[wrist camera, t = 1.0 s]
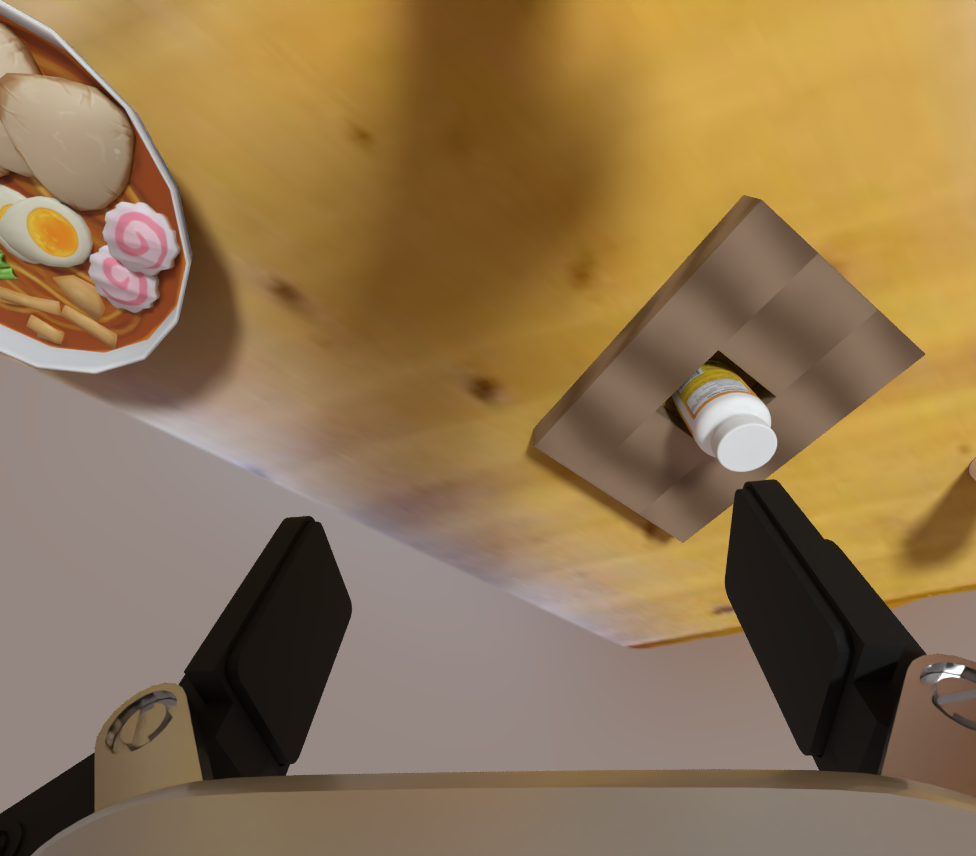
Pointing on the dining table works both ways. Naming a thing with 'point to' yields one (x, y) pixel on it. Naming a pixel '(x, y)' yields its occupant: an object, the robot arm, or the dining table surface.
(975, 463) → the smoothie
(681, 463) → the pocket board
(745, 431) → the supplement bottle
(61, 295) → the ramen bowl
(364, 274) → the dining table surface
